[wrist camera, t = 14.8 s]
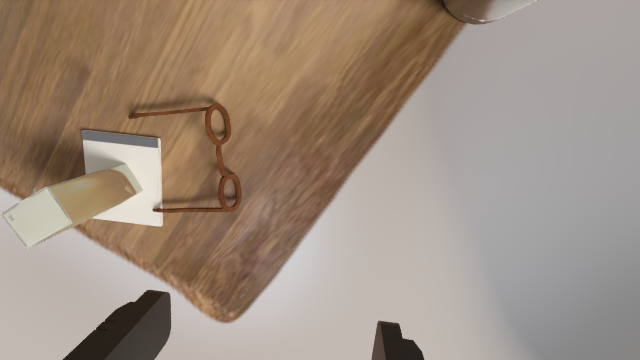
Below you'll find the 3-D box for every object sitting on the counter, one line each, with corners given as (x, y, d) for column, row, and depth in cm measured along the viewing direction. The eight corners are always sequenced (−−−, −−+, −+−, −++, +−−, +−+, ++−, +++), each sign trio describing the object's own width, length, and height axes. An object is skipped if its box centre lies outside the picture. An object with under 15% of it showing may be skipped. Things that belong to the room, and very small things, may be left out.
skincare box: (109, 210, 45) (24, 251, 33) (90, 182, 44) (-4, 215, 32) (146, 189, 44) (72, 225, 32) (127, 160, 43) (44, 186, 31)
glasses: (244, 203, 44) (232, 216, 39) (152, 210, 45) (129, 224, 41) (228, 103, 41) (212, 104, 36) (129, 113, 42) (101, 116, 37)
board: (85, 129, 43) (81, 130, 42) (160, 138, 42) (157, 138, 42) (93, 216, 46) (89, 218, 45) (162, 224, 45) (160, 226, 45)
